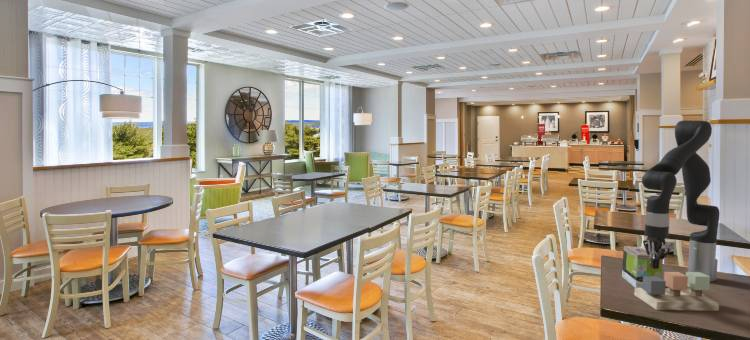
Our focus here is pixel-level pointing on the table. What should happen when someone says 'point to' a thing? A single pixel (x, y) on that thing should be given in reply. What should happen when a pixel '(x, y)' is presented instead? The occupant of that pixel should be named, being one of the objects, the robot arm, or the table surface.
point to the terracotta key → (676, 280)
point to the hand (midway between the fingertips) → (654, 268)
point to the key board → (678, 300)
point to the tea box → (638, 266)
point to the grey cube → (654, 285)
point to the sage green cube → (698, 281)
